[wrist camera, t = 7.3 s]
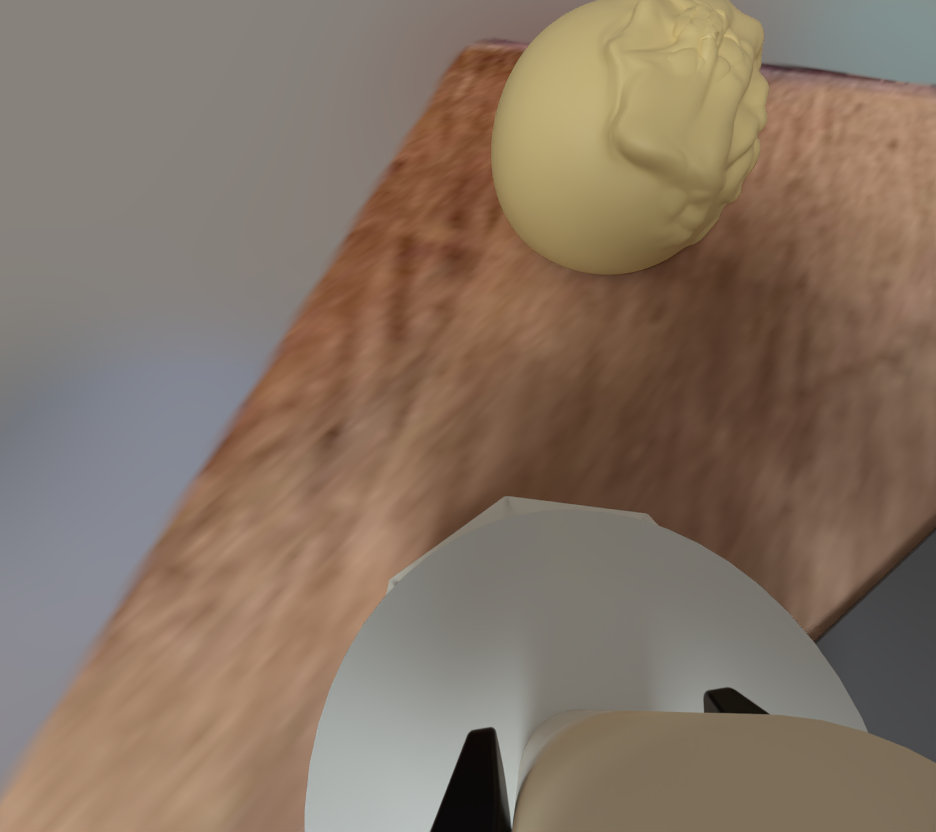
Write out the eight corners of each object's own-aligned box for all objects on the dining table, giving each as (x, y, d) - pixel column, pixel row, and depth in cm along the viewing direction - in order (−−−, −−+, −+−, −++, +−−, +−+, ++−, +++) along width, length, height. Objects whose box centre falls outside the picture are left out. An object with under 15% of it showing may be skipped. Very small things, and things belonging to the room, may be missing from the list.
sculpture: (695, 333, 26) (794, 115, 16) (465, 275, 29) (435, 63, 19) (740, 178, 30) (836, -61, 21) (537, 142, 34) (542, -80, 24)
